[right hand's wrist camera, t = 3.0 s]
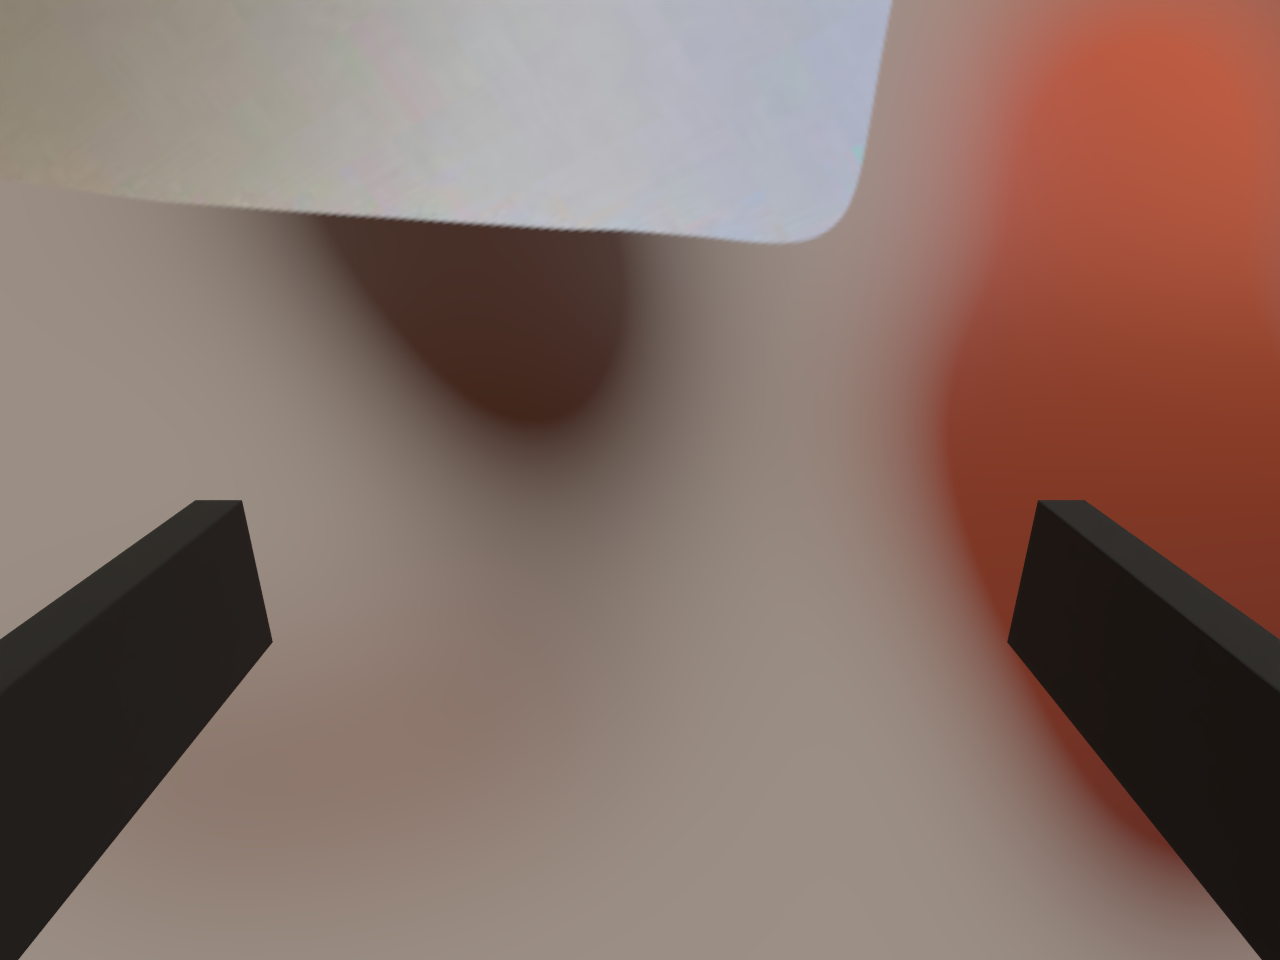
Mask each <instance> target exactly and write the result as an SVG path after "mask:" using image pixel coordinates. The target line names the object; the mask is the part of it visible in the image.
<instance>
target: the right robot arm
mask: <svg viewBox="0 0 1280 960" xmlns="http://www.w3.org/2000/svg"><path fill="white" fill-rule="evenodd" d="M272 642H273V641H272V637H271V632H270V628H269V623H268V618H267V614H266V609H265V605H264V600H263V595H262V591H261V586H260V581H259V577H258V572H257V568H256V563H255V558H254V554H253V549H252V545H251V540H250V535H249V531H248V526H247V521H246V517H245V512H244V508H243V503H242V500H195V501H194V502H193V503H191V504H190V505H188V506H187V507H185V508H184V509H183V510H181V511H180V512H178V513H177V514H176V515H174V516H173V517H171V518H170V519H169V520H167V521H166V522H164V523H163V524H162V525H160V526H159V527H157V528H156V529H155V530H153V531H152V532H150V533H149V534H148V535H146V536H145V537H143V538H142V539H140V540H139V541H138V542H136V543H135V544H133V545H132V546H131V547H129V548H128V549H126V550H125V551H124V552H122V553H121V554H119V555H118V556H117V557H115V558H114V559H112V560H111V561H110V562H108V563H107V564H105V565H104V566H103V567H101V568H100V569H98V570H97V571H96V572H94V573H93V574H91V575H90V576H89V577H87V578H86V579H84V580H83V581H82V582H80V583H79V584H77V585H76V586H75V587H73V588H72V589H70V590H69V591H68V592H66V593H65V594H63V595H62V596H61V597H59V598H58V599H56V600H55V601H54V602H52V603H51V604H49V605H48V606H47V607H45V608H44V609H42V610H41V611H39V612H38V613H37V614H35V615H34V616H32V617H31V618H30V619H28V620H27V621H25V622H24V623H23V624H21V625H20V626H18V627H17V628H16V629H14V630H13V631H11V632H10V633H9V634H7V635H6V636H4V637H3V638H2V639H0V960H18V959H19V958H20V957H21V955H22V954H23V953H24V952H25V951H26V949H27V948H28V947H29V946H30V944H31V943H32V942H33V941H34V939H35V938H36V937H37V936H38V934H39V933H40V932H41V931H42V929H43V928H44V927H45V926H46V924H47V923H48V922H49V921H50V919H51V918H52V917H53V916H54V914H55V913H56V912H57V911H58V909H59V908H60V907H61V906H62V904H63V903H64V902H65V901H66V899H67V898H68V897H69V896H70V894H71V893H72V892H73V891H74V889H75V888H76V887H77V886H78V884H79V883H80V882H81V881H82V879H83V878H84V877H85V876H86V874H87V873H88V872H89V871H90V869H91V868H92V867H93V866H94V864H95V863H96V862H97V861H98V859H99V858H100V857H101V856H102V854H103V853H104V852H105V851H106V849H107V848H108V847H109V846H110V844H111V843H112V842H113V841H114V839H115V838H116V837H117V836H118V834H119V833H120V832H121V831H122V829H123V828H124V827H125V826H126V824H127V823H128V822H129V821H130V820H131V818H132V817H133V816H134V815H135V813H136V812H137V811H138V809H139V808H140V807H141V806H142V804H143V803H144V802H145V801H146V799H147V798H148V797H149V796H150V795H151V793H152V792H153V791H154V790H155V788H156V787H157V786H158V785H159V783H160V782H161V781H162V779H163V778H164V777H165V776H166V775H167V773H168V772H169V771H170V770H171V768H172V767H173V766H174V765H175V763H176V762H177V761H178V760H179V758H180V757H181V756H182V755H183V753H184V752H185V751H186V750H187V748H188V747H189V746H190V745H191V743H192V742H193V741H194V740H195V738H196V737H197V736H198V735H199V733H200V732H201V731H202V730H203V728H204V727H205V726H206V725H207V723H208V722H209V721H210V720H211V718H212V717H213V716H214V715H215V713H216V712H217V711H218V710H219V708H220V707H221V706H222V705H223V703H224V702H225V701H226V700H227V698H228V697H229V696H230V695H231V693H232V692H233V691H234V690H235V688H236V687H237V686H238V685H239V683H240V682H241V681H242V680H243V678H244V677H245V676H246V675H247V673H248V672H249V671H250V670H251V668H252V667H253V666H254V665H255V663H256V662H257V661H258V660H259V658H260V657H261V656H262V655H263V653H264V652H265V651H266V650H267V648H268V647H269V646H270V645H271V643H272ZM1008 643H1009V645H1010V646H1011V647H1012V648H1013V650H1014V651H1015V652H1016V653H1017V655H1018V656H1019V657H1020V658H1021V660H1022V661H1023V662H1024V663H1025V665H1026V666H1027V667H1028V668H1029V670H1030V671H1031V672H1032V673H1033V675H1034V676H1035V677H1036V678H1037V680H1038V681H1039V682H1040V683H1041V685H1042V686H1043V687H1044V688H1045V690H1046V691H1047V692H1048V693H1049V695H1050V696H1051V697H1052V698H1053V700H1054V701H1055V702H1056V703H1057V705H1058V706H1059V707H1060V708H1061V710H1062V711H1063V712H1064V713H1065V715H1066V716H1067V717H1068V718H1069V720H1070V721H1071V722H1072V723H1073V725H1074V726H1075V727H1076V728H1077V730H1078V731H1079V732H1080V733H1081V735H1082V736H1083V737H1084V738H1085V740H1086V741H1087V742H1088V743H1089V745H1090V746H1091V747H1092V748H1093V750H1094V751H1095V752H1096V753H1097V755H1098V756H1099V757H1100V758H1101V760H1102V761H1103V762H1104V763H1105V765H1106V766H1107V767H1108V768H1109V770H1110V771H1111V772H1112V773H1113V775H1114V776H1115V777H1116V778H1117V780H1118V781H1119V782H1120V783H1121V785H1122V786H1123V787H1124V788H1125V790H1126V791H1127V792H1128V793H1129V795H1130V796H1131V797H1132V798H1133V800H1134V801H1135V802H1136V803H1137V804H1138V806H1139V807H1140V808H1141V810H1142V811H1143V812H1144V813H1145V815H1146V816H1147V817H1148V818H1149V820H1150V821H1151V822H1152V823H1153V824H1154V826H1155V827H1156V828H1157V829H1158V831H1159V832H1160V833H1161V834H1162V836H1163V837H1164V838H1165V839H1166V841H1167V842H1168V843H1169V844H1170V846H1171V847H1172V848H1173V849H1174V851H1175V852H1176V853H1177V854H1178V856H1179V857H1180V858H1181V859H1182V861H1183V862H1184V863H1185V864H1186V866H1187V867H1188V868H1189V869H1190V871H1191V872H1192V873H1193V874H1194V876H1195V877H1196V878H1197V879H1198V881H1199V882H1200V883H1201V884H1202V886H1203V887H1204V888H1205V889H1206V891H1207V892H1208V893H1209V894H1210V896H1211V897H1212V898H1213V899H1214V901H1215V902H1216V903H1217V904H1218V906H1219V907H1220V908H1221V909H1222V911H1223V912H1224V913H1225V914H1226V916H1227V917H1228V918H1229V919H1230V921H1231V922H1232V923H1233V924H1234V926H1235V927H1236V928H1237V929H1238V931H1239V932H1240V933H1241V934H1242V936H1243V937H1244V938H1245V939H1246V941H1247V942H1248V943H1249V944H1250V946H1251V947H1252V948H1253V949H1254V951H1255V952H1256V953H1257V954H1258V955H1259V957H1260V958H1261V959H1262V960H1280V639H1278V638H1277V637H1276V636H1274V635H1273V634H1271V633H1270V632H1269V631H1267V630H1266V629H1264V628H1263V627H1262V626H1260V625H1259V624H1257V623H1256V622H1254V621H1253V620H1252V619H1250V618H1249V617H1248V616H1246V615H1245V614H1243V613H1242V612H1240V611H1239V610H1238V609H1236V608H1235V607H1233V606H1232V605H1231V604H1229V603H1228V602H1226V601H1225V600H1224V599H1222V598H1221V597H1219V596H1218V595H1217V594H1215V593H1214V592H1212V591H1211V590H1210V589H1208V588H1207V587H1205V586H1204V585H1203V584H1201V583H1200V582H1198V581H1197V580H1196V579H1194V578H1193V577H1191V576H1190V575H1189V574H1187V573H1186V572H1184V571H1183V570H1182V569H1180V568H1179V567H1177V566H1176V565H1175V564H1173V563H1172V562H1170V561H1169V560H1168V559H1166V558H1165V557H1163V556H1162V555H1161V554H1159V553H1158V552H1156V551H1155V550H1153V549H1152V548H1151V547H1149V546H1148V545H1147V544H1145V543H1144V542H1142V541H1141V540H1140V539H1138V538H1137V537H1135V536H1134V535H1132V534H1131V533H1130V532H1128V531H1127V530H1125V529H1124V528H1123V527H1121V526H1120V525H1118V524H1117V523H1116V522H1114V521H1113V520H1111V519H1110V518H1109V517H1107V516H1106V515H1104V514H1103V513H1102V512H1100V511H1099V510H1097V509H1096V508H1095V507H1093V506H1092V505H1090V504H1089V503H1088V502H1086V501H1085V500H1038V503H1037V508H1036V512H1035V517H1034V521H1033V526H1032V531H1031V535H1030V540H1029V545H1028V549H1027V554H1026V558H1025V563H1024V568H1023V572H1022V577H1021V581H1020V586H1019V591H1018V596H1017V600H1016V605H1015V609H1014V614H1013V618H1012V623H1011V628H1010V632H1009V637H1008Z"/></svg>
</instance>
